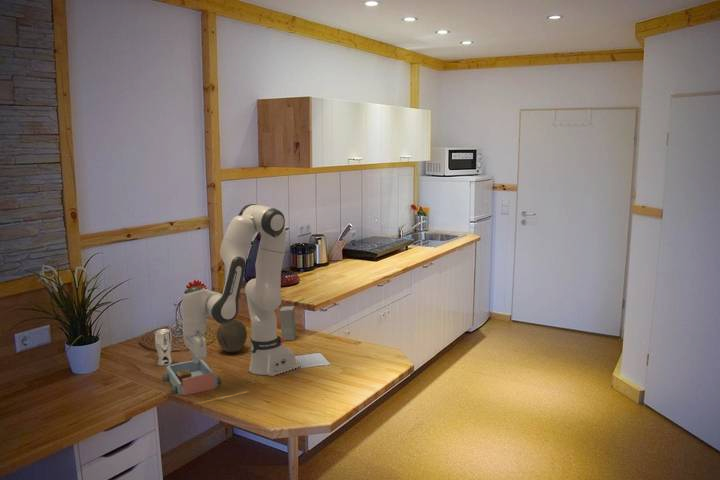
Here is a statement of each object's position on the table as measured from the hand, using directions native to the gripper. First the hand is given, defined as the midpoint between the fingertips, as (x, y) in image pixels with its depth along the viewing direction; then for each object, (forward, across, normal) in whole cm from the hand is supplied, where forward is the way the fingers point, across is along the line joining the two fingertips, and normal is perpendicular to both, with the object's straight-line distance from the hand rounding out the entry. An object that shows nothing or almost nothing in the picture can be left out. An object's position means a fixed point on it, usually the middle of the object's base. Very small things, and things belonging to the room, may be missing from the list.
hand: (195, 362), depth 226 cm
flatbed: (+12, +7, 0) cm, 14 cm away
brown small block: (+11, +7, +3) cm, 13 cm away
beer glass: (+12, +37, +4) cm, 39 cm away
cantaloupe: (+11, +36, -27) cm, 47 cm away
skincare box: (+10, +39, -57) cm, 70 cm away
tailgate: (+11, -5, 0) cm, 12 cm away
